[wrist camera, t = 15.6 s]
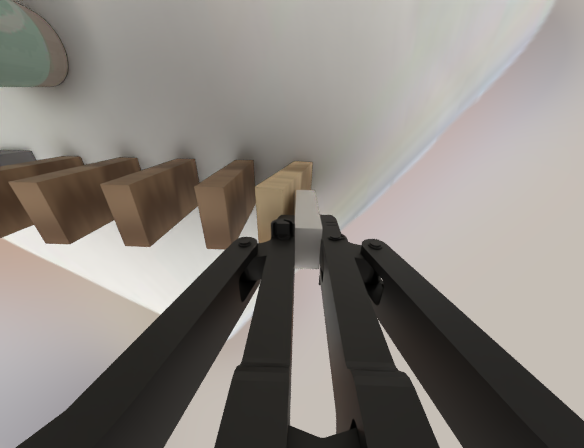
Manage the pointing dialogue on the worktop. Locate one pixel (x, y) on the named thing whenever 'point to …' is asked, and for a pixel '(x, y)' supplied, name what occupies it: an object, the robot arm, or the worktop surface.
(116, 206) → the tile
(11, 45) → the coffee cup
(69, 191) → the tile
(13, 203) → the tile
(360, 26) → the worktop surface
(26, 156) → the block
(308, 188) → the tile
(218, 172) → the tile
